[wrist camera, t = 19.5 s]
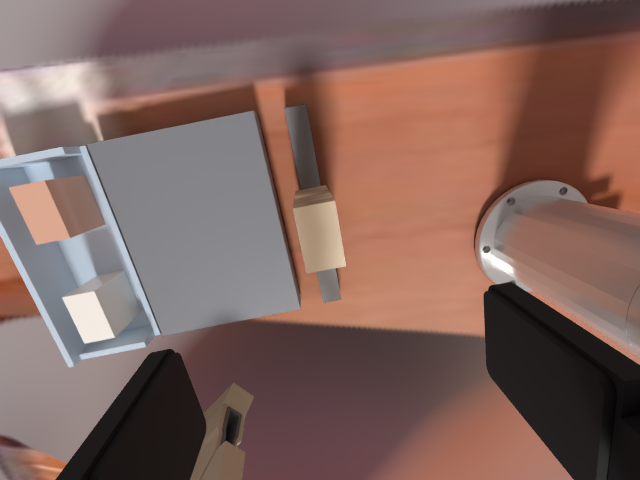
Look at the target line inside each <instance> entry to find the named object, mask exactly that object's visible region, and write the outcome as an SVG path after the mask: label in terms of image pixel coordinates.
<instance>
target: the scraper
mask: <svg viewBox="0 0 640 480" xmlns="http://www.w3.org/2000/svg"><path fill="white" fill-rule="evenodd" d="M284 109H285V114H286V119H287V124H288V129H289V134H290V139H291V144H292V149H293V154H294V159H295V164H296V169H297V174H298V179H299V184H300V189H301V190H298V191H296V192H295V198H294V204H293V212H294V217H295V222H296V227H297V231H298V236H299V241H300V245H301V250H302V255H303V260H304V264H305V269H306V274H307V273H313V272H317V274H318V279H319V284H320V289H321V294H322V299H323V303H326V302H331V301H337V300H341V295H340V289H339V284H338V278H337V273H336V268H339V267H344V266H346V263H345V257H344V251H343V245H342V239H341V233H340V228H339V222H338V216H337V210H336V204H335V200H334V198H333V196H332V195H331V193H330V191H329V190H328V188H327V186H326V185H325V186H321V184H320V178H319V173H318V167H317V162H316V156H315V150H314V145H313V139H312V134H311V128H310V123H309V117H308V112H307V106H306V104H304V105H299V106H294V107H288V108H284Z"/></svg>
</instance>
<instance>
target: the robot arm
mask: <svg viewBox="0 0 640 480" xmlns="http://www.w3.org/2000/svg"><path fill="white" fill-rule="evenodd" d="M475 252H476V257H477V261H478V263H479V266H480V268H481V269H482V271H483V272H484V273H485V275H486V276H487V277H488V278H490V279H491V280H492V281H493V282H495V283H496V285H491V286H490V287H489V289H488V291H486V292H485V293H484V318H485V342H486V366H487V370H488V373H489V374H490V377H491V378H492V379H493V380H494V382H495V383H496V384H497V385H498V387H499V388H500V389H501V390H502V392H503V393H504V394H505V395H506V397H507V398H508V399H509V400H510V402H511V403H512V404H513V405H514V406H515V408H516V409H517V410H518V411H519V413H520V414H521V415H522V416H523V418H524V419H525V420H526V421H527V422H528V424H529V425H530V426H531V427H532V429H533V430H534V431H535V432H536V433H537V435H538V436H539V437H540V438H541V440H542V441H543V442H544V443H545V445H546V446H547V447H548V448H549V450H550V451H551V452H552V453H553V454H554V456H555V457H556V458H557V459H558V461H559V462H560V463H561V464H562V466H563V467H564V468H565V469H566V470H567V472H568V473H569V474H570V475H571V477H572V478H573V479H574V480H640V365H639V364H637V363H636V362H634V361H633V360H631V359H629V358H628V357H626V356H625V355H623V354H622V353H620V352H619V351H617V350H616V349H614V348H613V347H611V346H609V345H608V344H606V343H605V342H603V341H602V340H600V339H599V338H597V337H596V336H594V335H593V334H591V333H589V332H588V331H586V330H585V329H583V328H582V327H580V326H579V325H577V324H576V323H574V322H573V321H571V320H570V319H568V318H566V317H565V316H563V315H562V314H560V313H559V312H557V311H556V310H554V309H553V308H551V307H550V306H548V305H546V304H545V303H543V302H542V301H540V300H539V299H537V298H536V297H534V296H533V295H531V294H530V293H528V292H531V291H535V292H537V293H538V294H540V295H541V296H543V297H545V298H546V299H548V300H549V301H551V302H553V303H554V304H556V305H557V306H559V307H561V308H562V309H564V310H565V311H567V312H569V313H570V314H572V315H573V316H575V317H577V318H578V319H580V320H581V321H583V322H585V323H586V324H588V325H589V326H591V327H593V328H594V329H596V330H597V331H599V332H601V333H602V334H604V335H605V336H607V337H608V338H610V339H612V340H613V341H615V342H616V343H618V344H620V345H621V346H623V347H624V348H626V349H628V350H629V351H631V352H632V353H634V354H636V355H637V356H639V357H640V214H639V213H634V212H629V211H624V210H619V209H614V208H609V207H604V206H599V205H594V204H589V203H588V202H587V200H586V199H585V197H584V196H583V195H582V194H581V193H580V192H579V191H578V190H577V189H575V188H574V187H572V186H570V185H568V184H565V183H562V182H559V181H552V180H534V181H529V182H525V183H522V184H520V185H517V186H515V187H513V188H511V189H510V190H508V191H506V192H505V193H504V194H502V195H501V196H500V197H499V198H498V199H496V200H495V201H494V203H493V204H492V205H491V206H490V207H489V208H488V210H487V211H486V213H485V214H484V216H483V218H482V219H481V222H480V224H479V227H478V229H477V234H476V239H475ZM206 429H207V425H206V420H205V417H204V414H203V412H202V409H201V407H200V404H199V401H198V399H197V396H196V394H195V391H194V388H193V386H192V383H191V381H190V378H189V376H188V373H187V370H186V368H185V365H184V363H183V360H182V357H181V355H180V354H179V353H175V352H174V351H173V350H172V349H167V350H162V351H157V352H152V353H150V354H149V355H148V356H147V358H146V359H145V360H144V362H143V363H142V364H141V366H140V367H139V368H138V370H137V371H136V372H135V374H134V375H133V376H132V378H131V379H130V380H129V382H128V383H127V384H126V386H125V387H124V389H123V390H122V391H121V393H120V394H119V395H118V396H117V398H116V399H115V400H114V402H113V403H112V405H111V406H110V407H109V409H108V410H107V411H106V413H105V414H104V415H103V417H102V418H101V419H100V421H99V422H98V423H97V425H96V426H95V428H94V429H93V430H92V431H91V433H90V434H89V435H88V437H87V438H86V440H85V441H84V442H83V444H82V445H81V446H80V448H79V449H78V450H77V452H76V453H75V454H74V456H73V457H72V458H71V460H70V461H69V462H68V464H67V465H66V466H65V468H64V469H63V470H62V472H61V473H60V474H59V476H58V477H57V479H56V480H190V479H191V476H192V473H193V470H194V467H195V464H196V461H197V458H198V455H199V452H200V449H201V446H202V443H203V440H204V438H205V434H206Z"/></svg>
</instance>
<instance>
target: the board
mask: <svg viewBox="0 0 640 480" xmlns="http://www.w3.org/2000/svg"><path fill="white" fill-rule="evenodd" d="M87 146H88V148H89V151H90V153H91V156H92V158H93V161H94V163H95V166H96V168H97V171H98V174H99V176H100V179H101V181H102V184H103V186H104V189H105V191H106V194H107V196H108V199H109V201H110V204H111V206H112V209H113V211H114V214H115V216H116V219H117V221H118V224H119V226H120V229H121V232H122V234H123V237H124V239H125V242H126V244H127V247H128V249H129V252H130V254H131V257H132V259H133V262H134V264H135V267H136V269H137V272H138V274H139V277H140V279H141V282H142V284H143V287H144V290H145V292H146V295H147V297H148V300H149V302H150V305H151V307H152V310H153V312H154V315H155V317H156V320H157V322H158V325H159V327H160V330H161V332H162V335H163V336H166V335H171V334H177V333H182V332H187V331H192V330H196V329H202V328H207V327H212V326H217V325H222V324H227V323H232V322H237V321H242V320H248V319H253V318H258V317H263V316H268V315H273V314H278V313H283V312H288V311H293V310H298V309H300V303H301V298H300V293H299V289H298V285H297V281H296V276H295V272H294V268H293V264H292V259H291V255H290V251H289V246H288V242H287V238H286V234H285V229H284V225H283V221H282V217H281V212H280V208H279V204H278V200H277V195H276V191H275V187H274V182H273V178H272V174H271V170H270V165H269V161H268V157H267V153H266V148H265V144H264V140H263V136H262V131H261V127H260V123H259V118H258V114H257V113H256V112H255V111H249V112H244V113H239V114H234V115H229V116H224V117H219V118H214V119H209V120H204V121H199V122H194V123H189V124H184V125H180V126H175V127H170V128H165V129H160V130H155V131H150V132H145V133H140V134H135V135H130V136H125V137H120V138H115V139H110V140H105V141H100V142H96V143H91V144H87Z"/></svg>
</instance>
